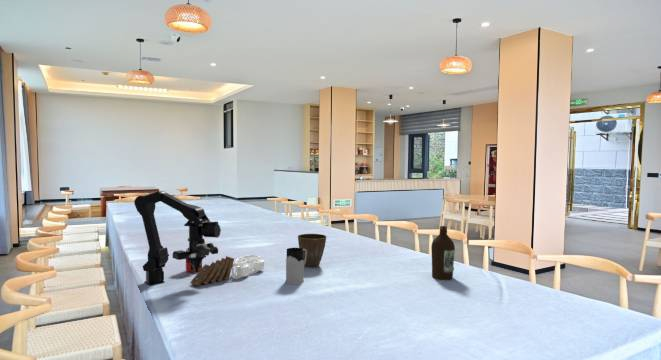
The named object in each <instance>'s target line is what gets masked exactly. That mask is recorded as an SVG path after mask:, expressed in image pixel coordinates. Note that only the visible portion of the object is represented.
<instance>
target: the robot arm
mask: <svg viewBox="0 0 661 360" xmlns="http://www.w3.org/2000/svg"><path fill="white" fill-rule="evenodd" d="M159 202H161V203H163V204H164V205H167V206H169V207H170V208H172V209H174V210H176V211H178V212H179V213H180V214H182V216H183V217H184V218H185V219H187V222H186V223H184V225H183V226H184V227H188V238H187V242H188V247H187V248H188V250H189V251H187V252H186V250H183V249H180V250H175V251H173V253H172V259H175V260H178V261H181V260H186V258H188V259H189V261H190V263H191V265H192V267H193V269H194V272H197V273H198V269H199V266H200V264H201V261H202V262H203V260H204V259H205V258H206V257H207V256H209V255H210V254H211V255H217V254H219V248H218V246H215V245H214V244H213V243H212V242H209V243H206V241H205V238H216V239H217V238H220V235H221V231H222V228H221V225H220V224H219V221H217V220H216V221H211V220H210V219H209V217H208V216H207V214H206V212H205V209H204V208H203V207H201V206H198V205H193V204H189V203H187V202H185V201H183V200H181V199H179V198H177V197H176V196H174V195H172V194H169V193H167V191H166V190H159V191H155V192H153V193H150V194H146V195H145V194H144V195H138V196H136V197H135V199H134V201H133V203H134V207H135V209H136V211H137V213H138V214H139V215H140V216H141V218H142V222H143V227H144V231H145V236H146V240H147V243H148V244H147V245H148V252H147V261H146V262H145V263H144V264H143V265H142V270H143V272H145V281H144V283H145V284H146V285H149V286H154V285H159V284H163V283H165V271H164V268H165V267H166V264H167V263H168V261H169V256H170V254H169V251H168V247H164V246H163V245H162V242H161V240H160V239H161V237H160V235H159V230H158V226H157V222H156V217H155V210H156V204H158V203H159ZM194 252H195V253H194Z"/></svg>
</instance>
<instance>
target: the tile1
mask: <svg viewBox="0 0 661 360" xmlns="http://www.w3.org/2000/svg"><path fill="white" fill-rule="evenodd" d="M212 270H213V267H212V266H210V264H204V265H202V269H201V270H200V271H199V272H197V274H196V275H195V276H194V277H193V278H192V280H190V282H189V283H190V284H191V285H192V286H195V287H198V288H199V287H200V286H201V285H202V284H203V283H202V282H203V281H204V280H205V278H206V277H207V276H208V275H209V273H210V272H211V271H212Z"/></svg>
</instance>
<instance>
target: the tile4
mask: <svg viewBox="0 0 661 360" xmlns="http://www.w3.org/2000/svg"><path fill="white" fill-rule="evenodd" d="M220 261H223V262H224V263H225V265H224V267H223V268H222V270H221V272H220V274H219V276H218V277H217V279H216V281H218V282H220V283H221V282H222V280H224V279H223V276H224V274H225V272H226V270H227V267H228V265H229V263H230V260H227V259H225V258H224V257H222V258H221V260H220Z"/></svg>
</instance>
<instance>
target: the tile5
mask: <svg viewBox="0 0 661 360" xmlns="http://www.w3.org/2000/svg"><path fill="white" fill-rule="evenodd" d="M224 259H227V260H230V263H229V265H228V267H227V270H226V272H225V274H224V276H223V279H222V280H225V281H229V280H230V276H231V274H232V265H233V262H235V258H234V257H232V256H231V257H230V256H228V255H226V256H225V258H224Z"/></svg>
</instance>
